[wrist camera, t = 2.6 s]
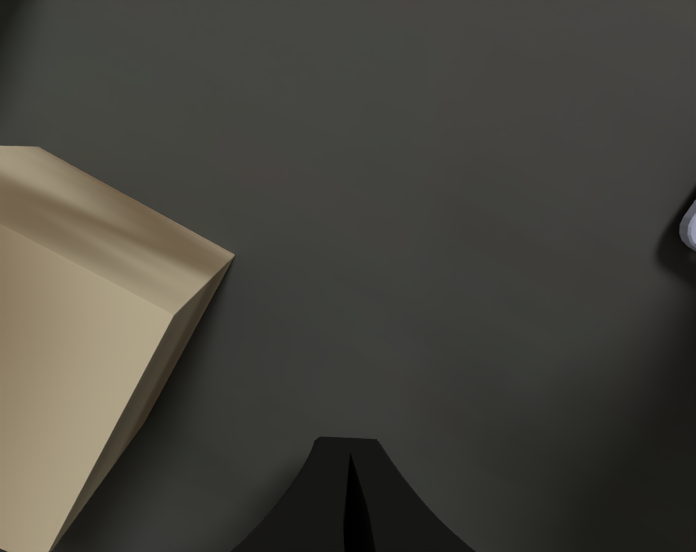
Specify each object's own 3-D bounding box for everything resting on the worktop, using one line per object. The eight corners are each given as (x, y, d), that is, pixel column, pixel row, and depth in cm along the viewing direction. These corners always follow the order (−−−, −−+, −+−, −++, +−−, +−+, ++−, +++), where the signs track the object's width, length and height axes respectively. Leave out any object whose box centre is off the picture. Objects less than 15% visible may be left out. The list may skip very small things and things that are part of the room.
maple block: (235, 254, 13) (174, 314, 8) (145, 420, 14) (41, 565, 9) (40, 146, 12) (-156, 141, 7) (-42, 328, 13) (-264, 430, 8)
